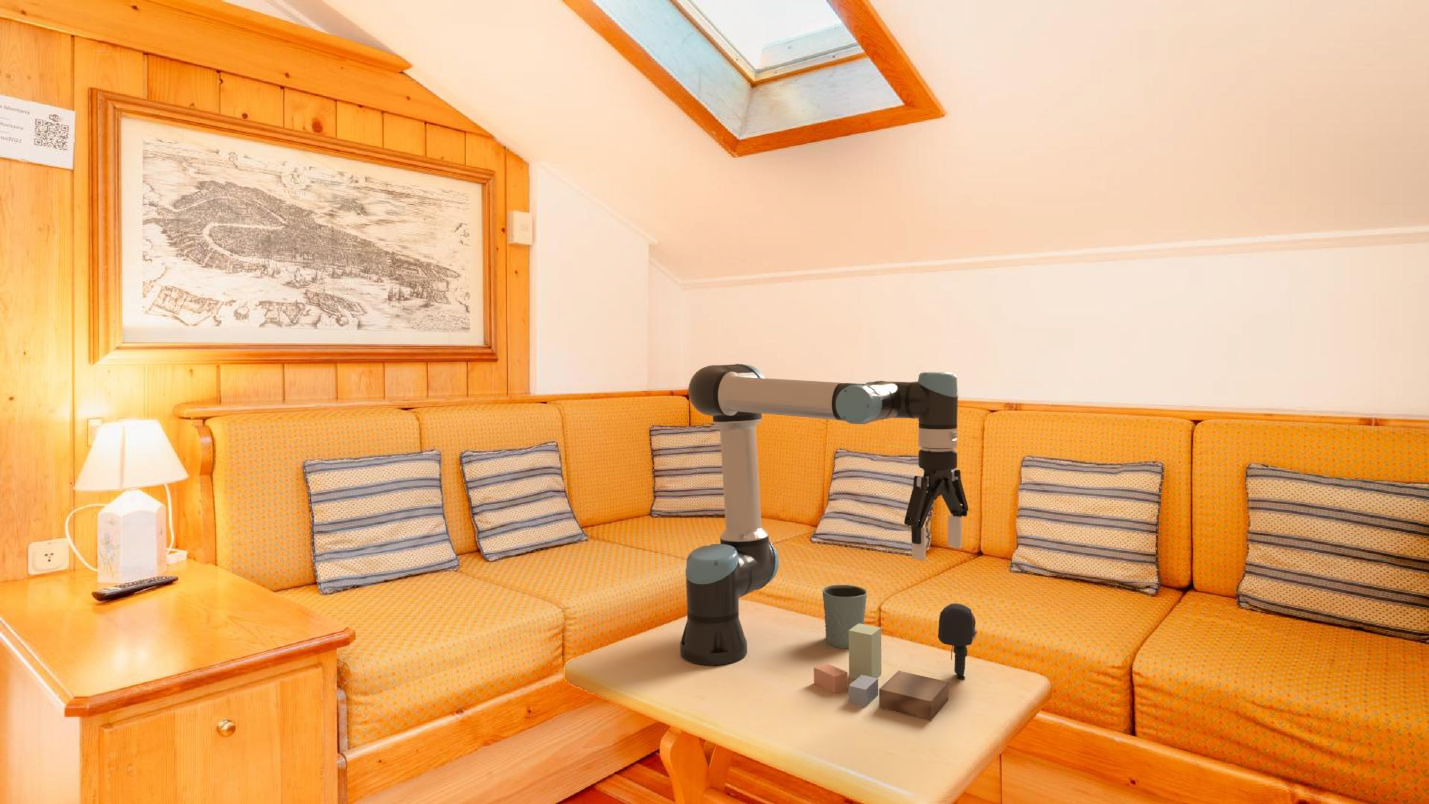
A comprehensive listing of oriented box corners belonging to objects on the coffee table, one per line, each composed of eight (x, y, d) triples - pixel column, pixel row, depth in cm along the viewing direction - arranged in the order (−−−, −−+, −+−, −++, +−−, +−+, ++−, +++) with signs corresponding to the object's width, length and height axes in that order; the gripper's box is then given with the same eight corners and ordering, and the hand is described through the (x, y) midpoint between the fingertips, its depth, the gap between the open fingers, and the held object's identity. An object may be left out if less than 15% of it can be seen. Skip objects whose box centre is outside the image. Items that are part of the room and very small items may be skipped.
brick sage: (849, 677, 161) (848, 630, 160) (859, 669, 165) (858, 623, 164) (871, 683, 158) (871, 635, 157) (881, 674, 162) (881, 627, 162)
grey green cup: (816, 644, 180) (815, 593, 179) (833, 630, 188) (832, 581, 188) (857, 652, 175) (857, 599, 174) (873, 638, 183) (873, 587, 182)
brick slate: (865, 707, 148) (865, 689, 147) (848, 703, 150) (848, 685, 149) (878, 696, 153) (878, 678, 152) (861, 692, 154) (861, 674, 154)
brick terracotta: (814, 684, 159) (813, 667, 158) (826, 679, 161) (826, 662, 160) (835, 694, 154) (834, 676, 154) (847, 689, 156) (847, 672, 156)
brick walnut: (879, 709, 147) (879, 689, 147) (898, 690, 155) (898, 670, 155) (931, 722, 141) (931, 701, 141) (948, 702, 150) (948, 681, 150)
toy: (980, 686, 155) (980, 612, 155) (939, 684, 157) (939, 610, 156) (974, 668, 164) (974, 598, 163) (936, 666, 166) (936, 597, 165)
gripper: (919, 456, 145) (919, 568, 147) (985, 444, 162) (985, 545, 164) (885, 453, 151) (885, 561, 152) (953, 442, 168) (952, 539, 169)
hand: (937, 553), depth 158 cm, fingers open, 13 cm apart
